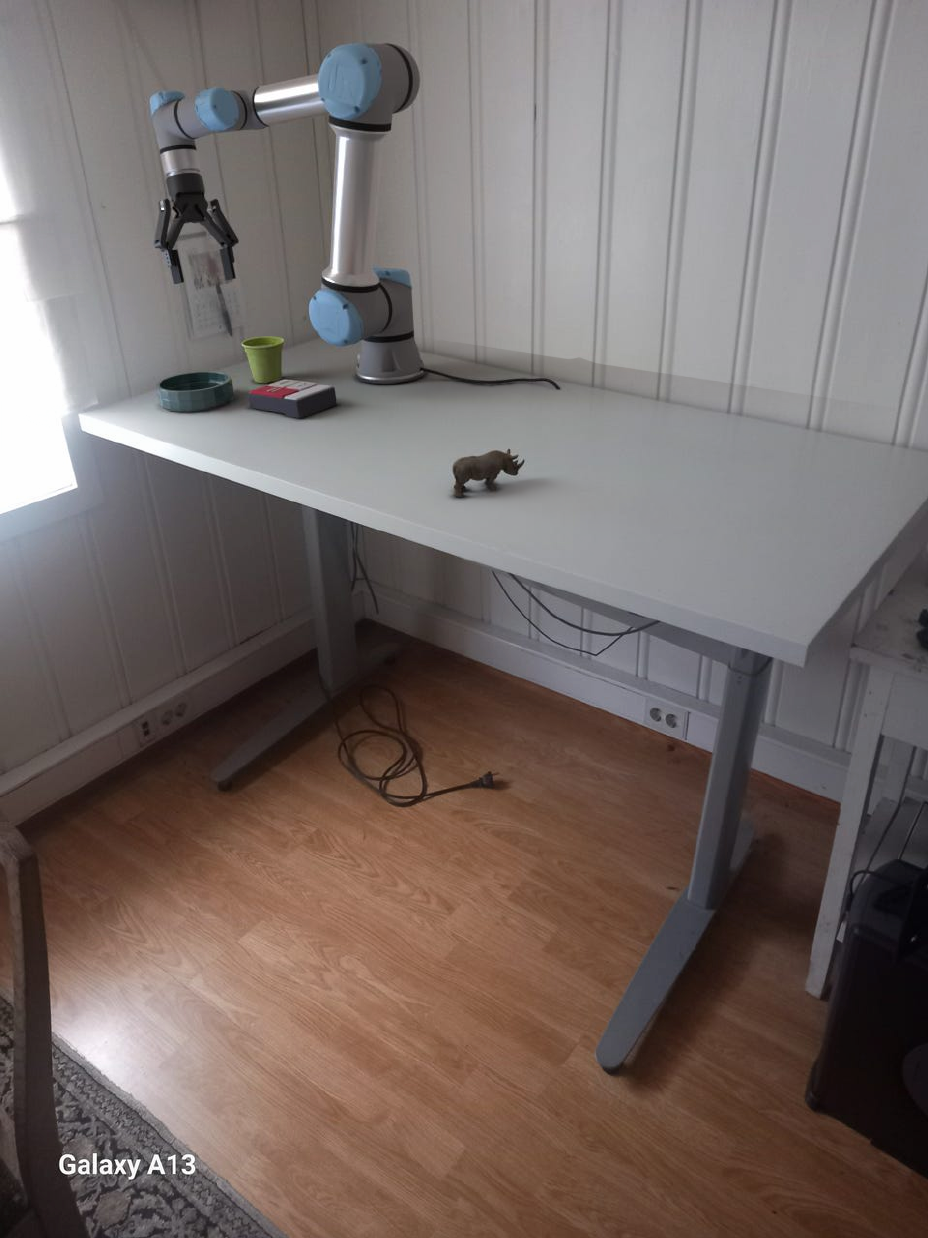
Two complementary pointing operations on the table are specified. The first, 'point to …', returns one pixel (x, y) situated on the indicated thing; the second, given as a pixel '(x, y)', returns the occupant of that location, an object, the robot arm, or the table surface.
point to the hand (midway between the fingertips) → (205, 281)
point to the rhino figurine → (484, 469)
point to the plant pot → (265, 358)
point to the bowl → (195, 391)
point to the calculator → (293, 398)
